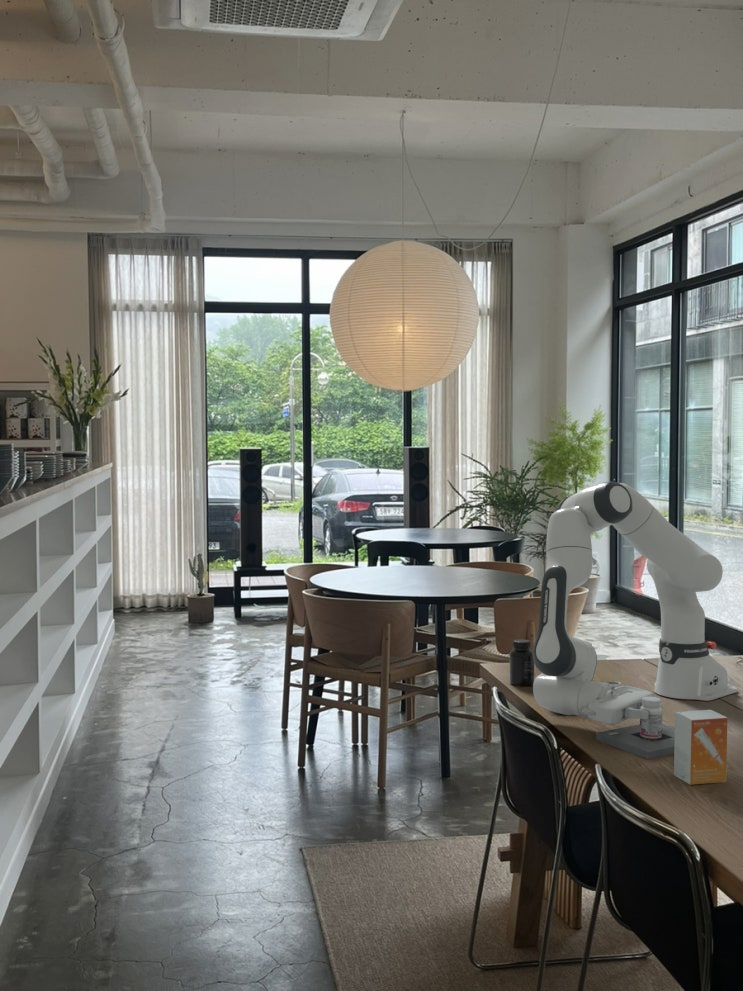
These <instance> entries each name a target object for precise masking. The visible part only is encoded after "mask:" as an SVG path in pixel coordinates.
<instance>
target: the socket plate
mask: <svg viewBox="0 0 743 991" xmlns="http://www.w3.org/2000/svg"><path fill="white" fill-rule="evenodd" d="M595 735H596V736H595V740H596V741H599V742H601V743H604V744H607V745H609V746H612V747H613V748H617V749H620V750H622V751H625V752H627V753H630V754H633V755H636V756H638V757H641V758H643V759H645V760H651V759H655V758H656V759H657V758H662V757H666V756H671V755H674V746H675V727H673V726H670V725H666V724H664V723H662V737H661V738H658V739H657V740H655V741H650V740H647V739H646V738H644V737H642V736H641V735H640V723H638V724H635V725H630V726H624V727H619V728H614V729H609V730H603V731H598V732H596V733H595Z"/></svg>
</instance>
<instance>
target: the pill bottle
mask: <svg viewBox="0 0 743 991" xmlns="http://www.w3.org/2000/svg"><path fill="white" fill-rule="evenodd" d="M642 705H643V706H641V708H640V710H642V709H645V710H649V711H650V718H648V719H640V718H639V724H640V735H641V736H642V737H644V739H650V740H652V739H653V740H655V739H656V740H659V739H658V738H661V737H662V724H663V707H662V708H661V707H660V706H661V705H662V702H661V698H660V697H656V696H654V697H643V698H642Z"/></svg>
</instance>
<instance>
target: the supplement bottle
mask: <svg viewBox="0 0 743 991" xmlns="http://www.w3.org/2000/svg"><path fill="white" fill-rule="evenodd" d="M512 648H513V649H511V651H510V652H509V682H510V684H511V685H512V684H513V686H516V685H520V686H519V687H529V686H528V685H530V686H533V684H534V680H535V678H536V677H535V663H534V660H533V649H532V650H531V649H530V648H531V640H528V639H514V640H512Z"/></svg>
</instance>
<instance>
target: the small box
mask: <svg viewBox="0 0 743 991" xmlns="http://www.w3.org/2000/svg"><path fill="white" fill-rule="evenodd" d="M674 728H675V746H674V754H673V755H674V756H673V757H674V758H673V760H674V761H673V763H674V764H673V774H674V776H675V777H677V778H678V779H680V780H681V781H683V782H684V783H685V784H688V785H690V786H691V785H703V784H716V783H717V784H718V783H726V782H727V763H728V761H727V757H728V756H727V755H728V717H727V716H725V715H723V714H721V713H719V712H717V711H715V710H712V709H702V710H698V709H697V710H687V711H675V712H674Z"/></svg>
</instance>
